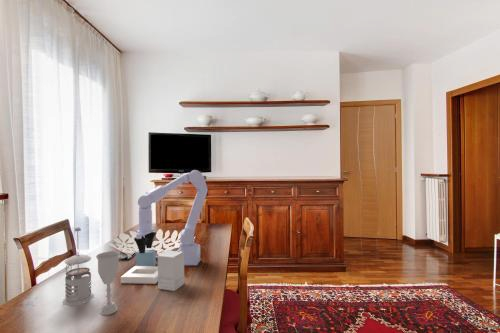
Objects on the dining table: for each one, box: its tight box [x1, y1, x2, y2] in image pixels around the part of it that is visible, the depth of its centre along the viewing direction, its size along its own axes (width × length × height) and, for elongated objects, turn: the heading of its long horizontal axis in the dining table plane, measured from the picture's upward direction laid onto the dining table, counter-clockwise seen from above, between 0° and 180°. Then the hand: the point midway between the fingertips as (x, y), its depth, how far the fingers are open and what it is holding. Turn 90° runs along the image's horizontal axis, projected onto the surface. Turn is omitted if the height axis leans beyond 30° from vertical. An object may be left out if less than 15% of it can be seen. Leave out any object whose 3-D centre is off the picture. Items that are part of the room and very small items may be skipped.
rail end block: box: [135, 249, 157, 266], centre depth 132 cm, size 8×4×7 cm, turn 87°
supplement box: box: [156, 249, 185, 292], centre depth 110 cm, size 7×7×13 cm
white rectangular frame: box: [120, 265, 158, 285], centre depth 119 cm, size 14×12×2 cm
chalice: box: [95, 250, 120, 316], centre depth 92 cm, size 7×7×18 cm
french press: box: [61, 227, 95, 307], centre depth 101 cm, size 10×12×25 cm
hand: (145, 250), depth 132 cm, fingers open, 7 cm apart
